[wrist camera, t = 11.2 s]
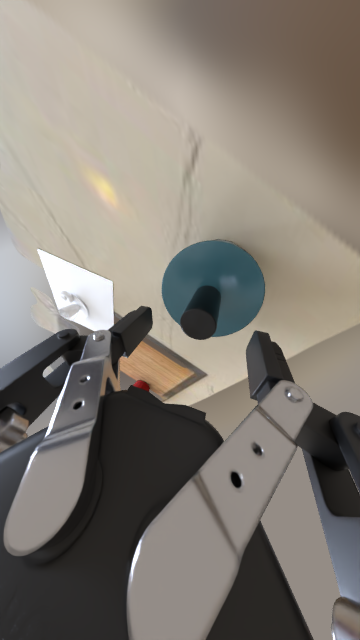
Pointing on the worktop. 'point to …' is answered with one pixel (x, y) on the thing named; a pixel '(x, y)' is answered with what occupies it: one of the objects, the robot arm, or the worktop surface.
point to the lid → (213, 289)
